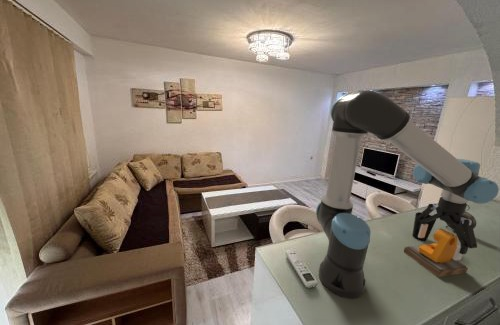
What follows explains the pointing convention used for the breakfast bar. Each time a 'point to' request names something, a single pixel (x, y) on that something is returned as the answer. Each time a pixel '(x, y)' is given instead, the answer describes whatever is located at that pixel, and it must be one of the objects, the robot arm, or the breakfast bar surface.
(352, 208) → the robot arm
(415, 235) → the cup
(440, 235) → the bracket
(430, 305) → the breakfast bar surface
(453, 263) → the plinth
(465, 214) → the alarm clock
